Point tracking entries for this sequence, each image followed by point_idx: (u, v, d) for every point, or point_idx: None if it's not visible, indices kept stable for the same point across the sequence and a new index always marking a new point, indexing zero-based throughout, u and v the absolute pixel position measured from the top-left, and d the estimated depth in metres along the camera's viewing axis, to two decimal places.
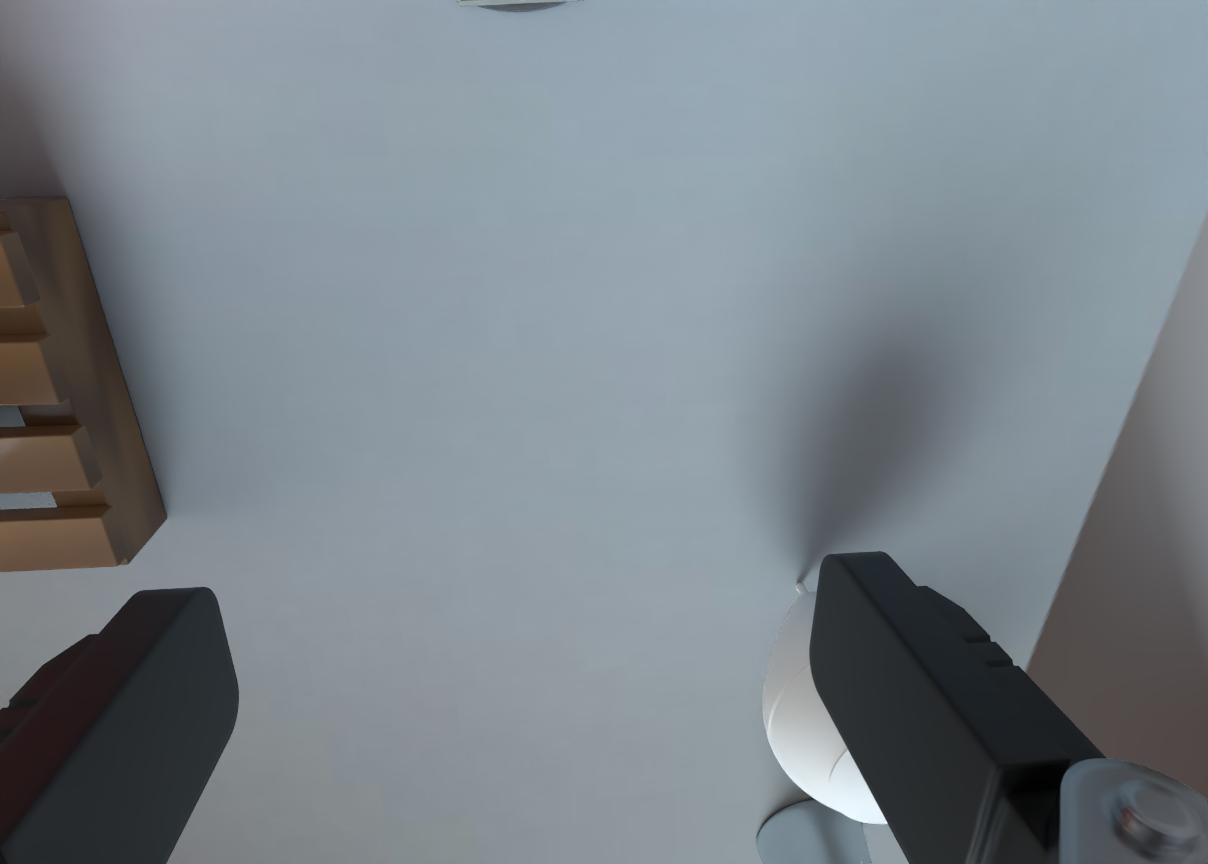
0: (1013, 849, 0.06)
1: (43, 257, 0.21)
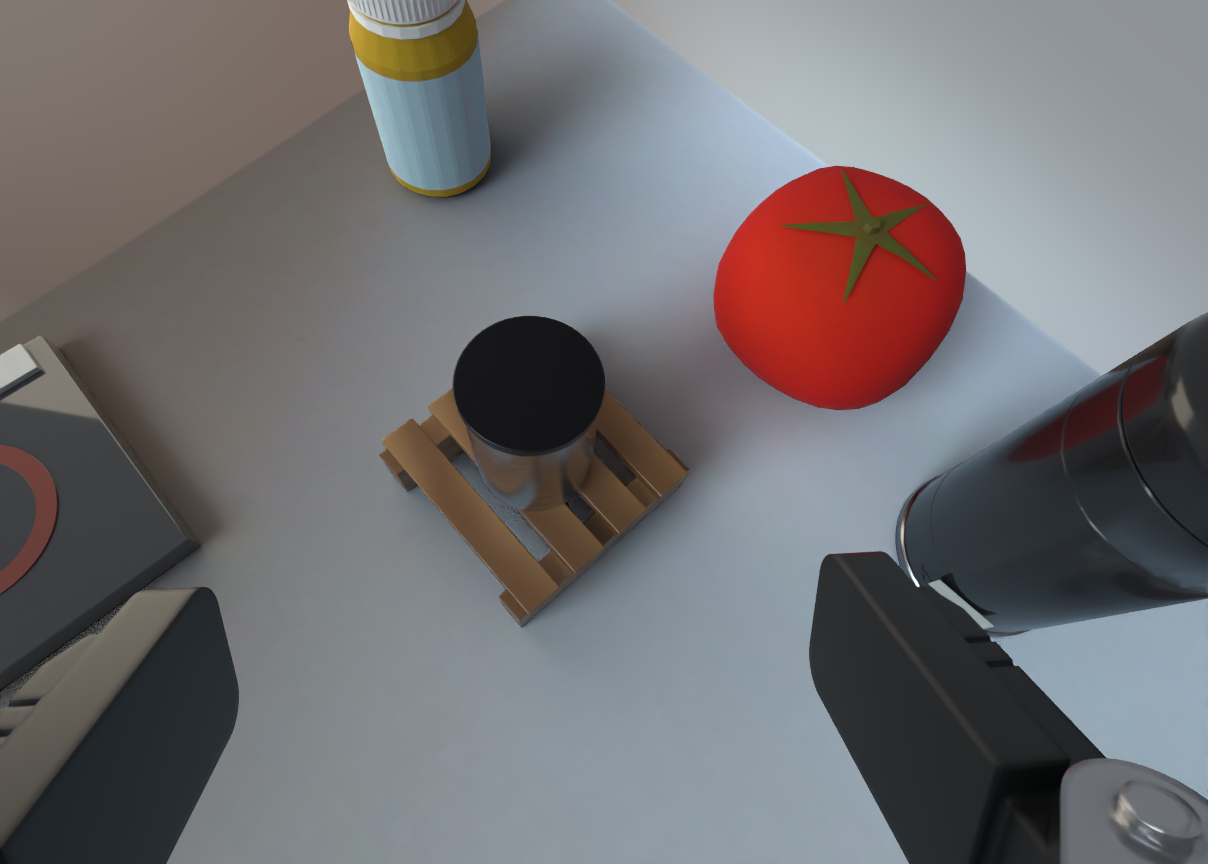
0: (1013, 849, 0.06)
1: None
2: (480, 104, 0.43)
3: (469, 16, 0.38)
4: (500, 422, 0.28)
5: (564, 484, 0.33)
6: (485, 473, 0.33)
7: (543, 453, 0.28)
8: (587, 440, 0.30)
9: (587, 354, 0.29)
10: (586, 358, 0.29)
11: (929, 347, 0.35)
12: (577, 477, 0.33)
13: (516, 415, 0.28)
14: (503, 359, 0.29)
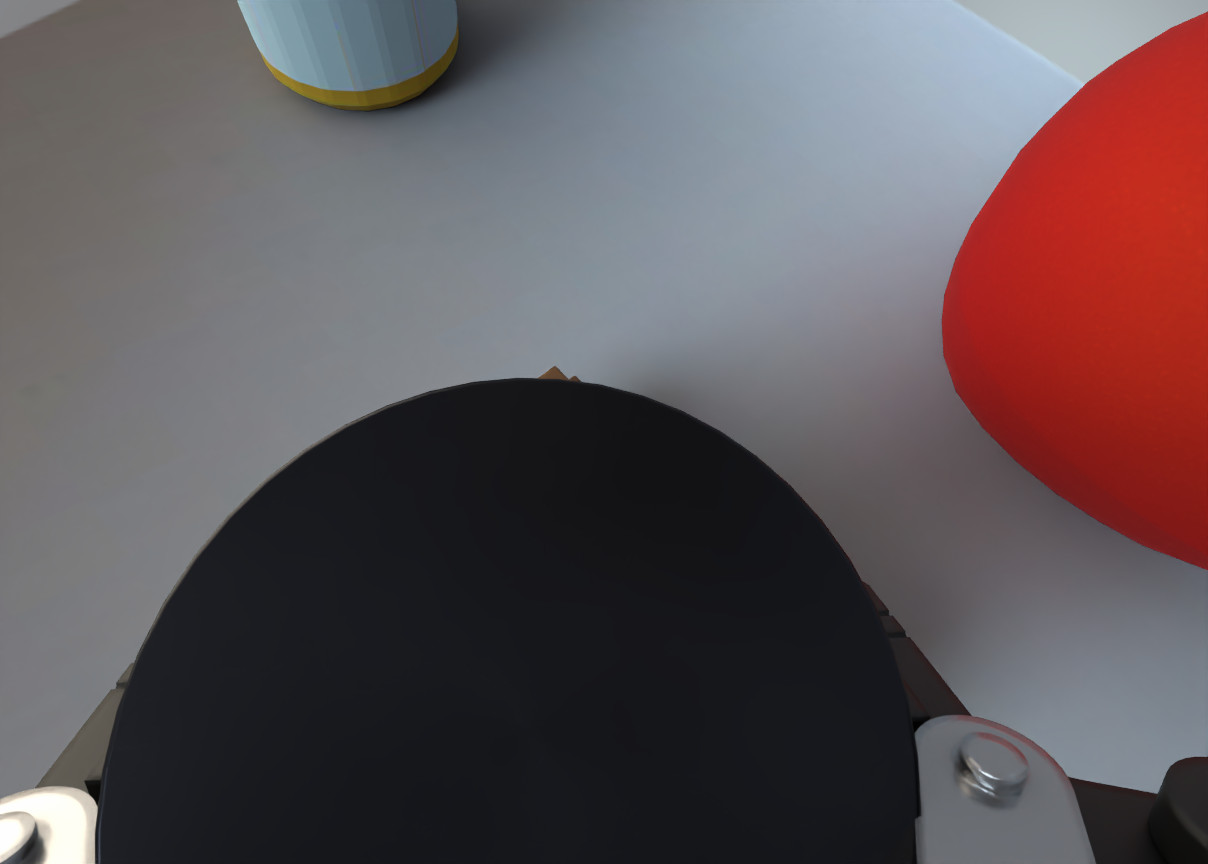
0: None
1: None
2: None
3: None
4: None
5: None
6: None
7: None
8: None
9: (810, 571, 0.06)
10: (808, 593, 0.06)
11: None
12: None
13: None
14: (397, 605, 0.06)
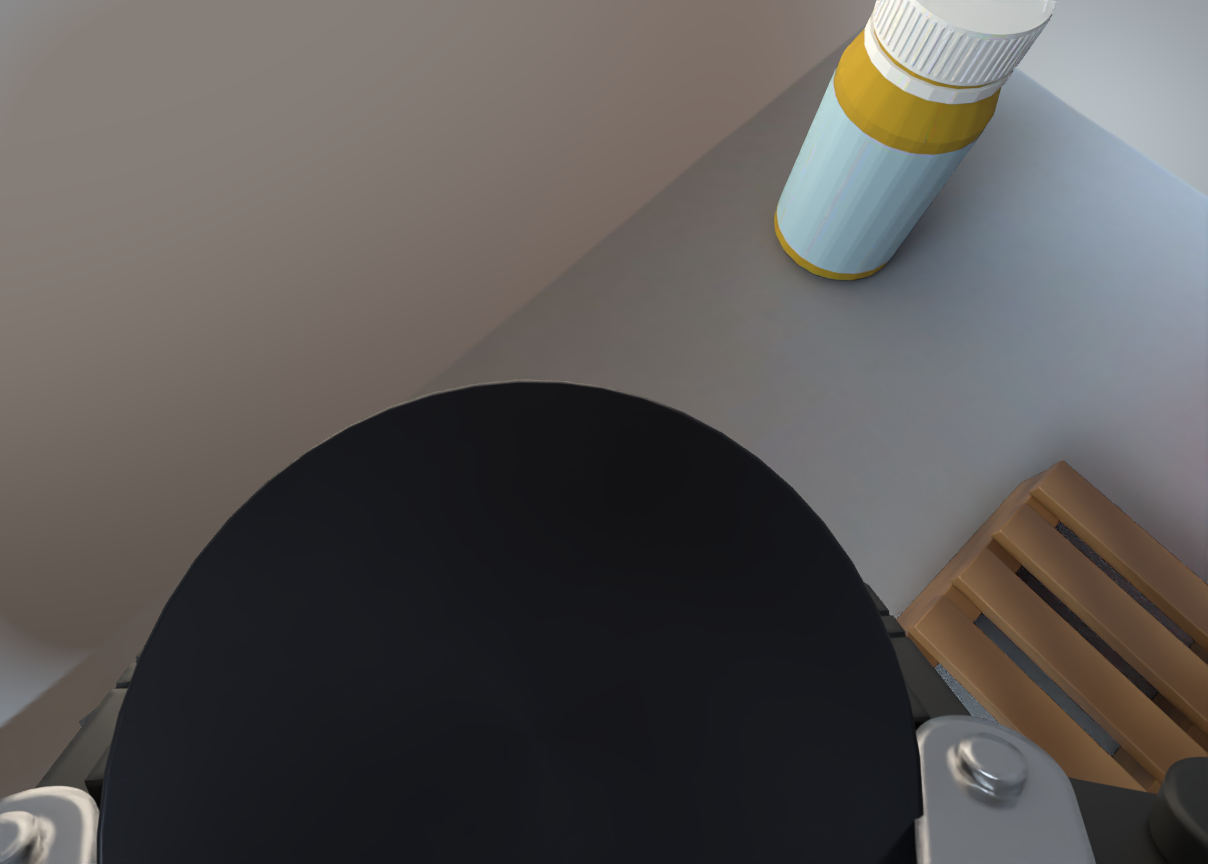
0: None
1: None
2: None
3: None
4: None
5: None
6: None
7: None
8: None
9: (812, 573, 0.06)
10: (810, 595, 0.06)
11: None
12: None
13: None
14: (399, 607, 0.06)
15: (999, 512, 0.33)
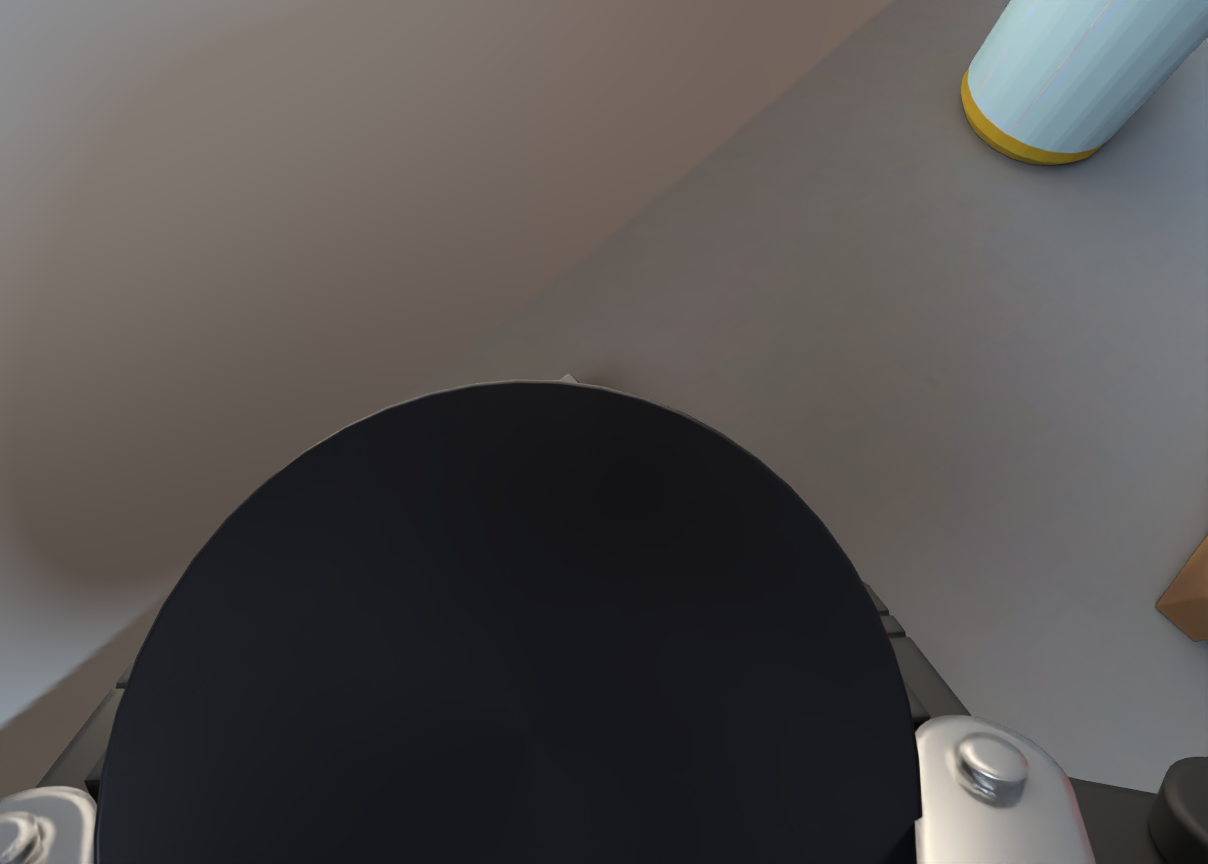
0: None
1: None
2: None
3: None
4: None
5: None
6: None
7: None
8: None
9: (810, 573, 0.06)
10: (808, 595, 0.06)
11: None
12: None
13: None
14: (396, 607, 0.06)
15: None
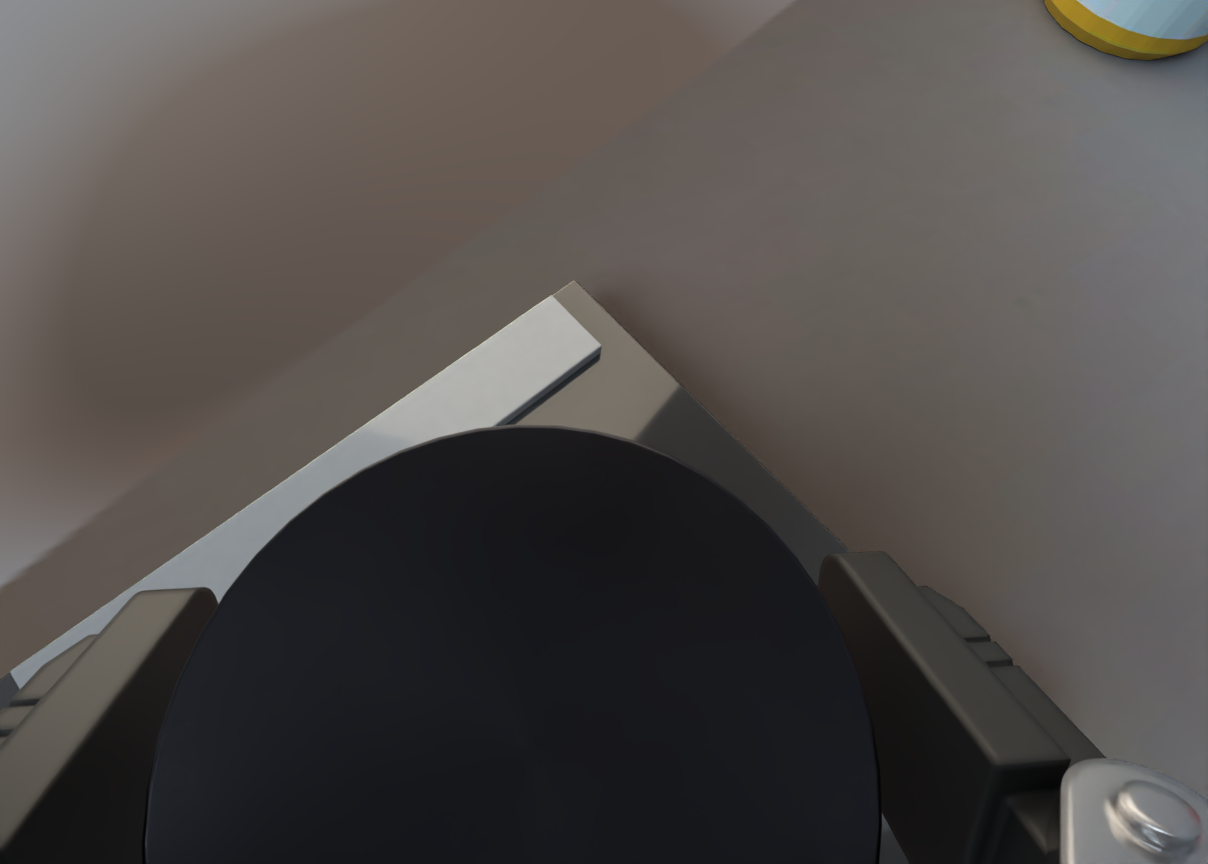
0: (1013, 849, 0.06)
1: None
2: None
3: None
4: None
5: None
6: None
7: None
8: None
9: (785, 604, 0.07)
10: (782, 625, 0.07)
11: None
12: None
13: None
14: (410, 637, 0.06)
15: None
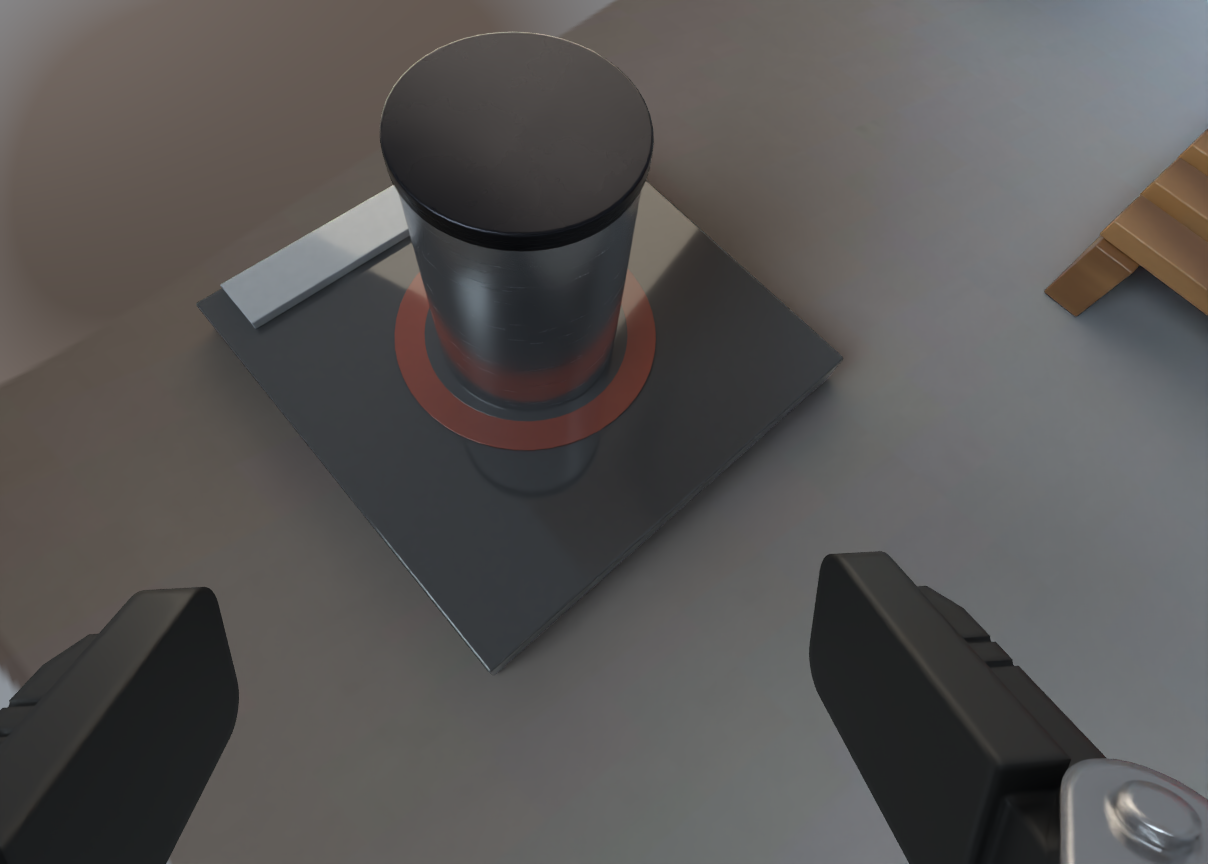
0: (1013, 849, 0.06)
1: None
2: None
3: None
4: (464, 186, 0.15)
5: (575, 353, 0.20)
6: (446, 333, 0.20)
7: (543, 244, 0.15)
8: (618, 253, 0.17)
9: (621, 90, 0.16)
10: (620, 96, 0.16)
11: None
12: (595, 344, 0.21)
13: (493, 176, 0.15)
14: (473, 91, 0.16)
15: None
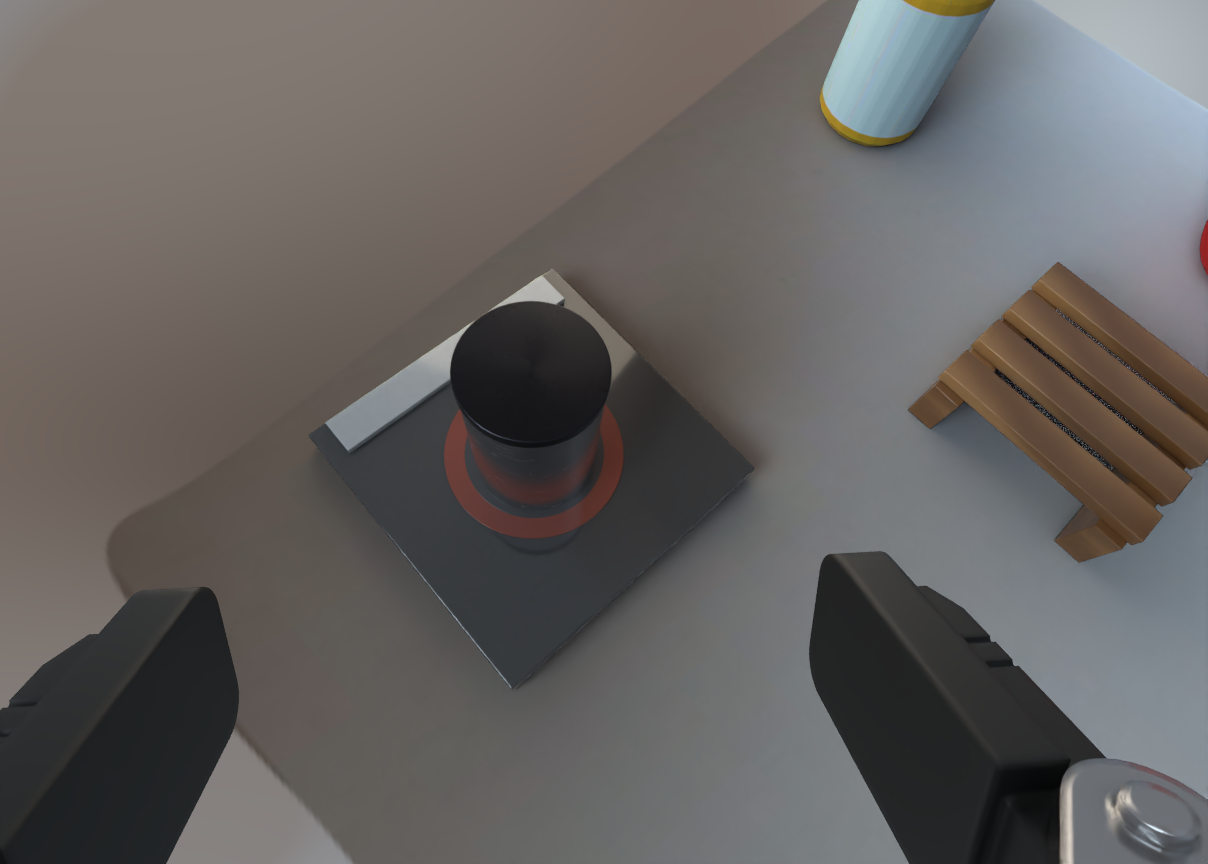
0: (1013, 849, 0.06)
1: None
2: None
3: None
4: (500, 411, 0.26)
5: (566, 481, 0.31)
6: (483, 468, 0.31)
7: (545, 445, 0.26)
8: (592, 433, 0.28)
9: (593, 341, 0.27)
10: (592, 345, 0.27)
11: None
12: (580, 474, 0.32)
13: (517, 403, 0.26)
14: (504, 345, 0.27)
15: None
